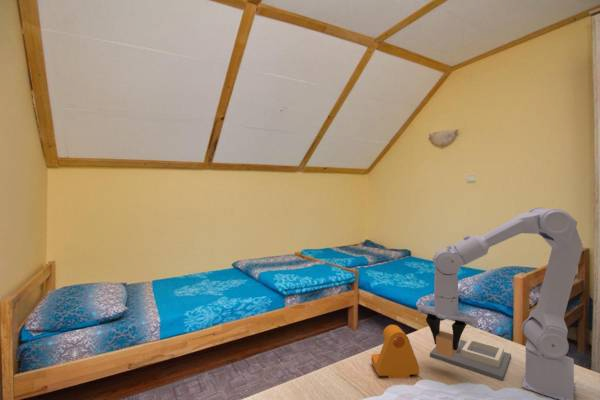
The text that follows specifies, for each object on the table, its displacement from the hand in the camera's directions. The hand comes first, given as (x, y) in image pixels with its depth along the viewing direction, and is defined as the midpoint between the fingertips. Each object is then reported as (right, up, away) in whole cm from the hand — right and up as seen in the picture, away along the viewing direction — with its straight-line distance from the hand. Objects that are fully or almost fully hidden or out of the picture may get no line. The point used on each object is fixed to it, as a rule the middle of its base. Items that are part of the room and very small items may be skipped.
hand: (446, 345), depth 82 cm
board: (+11, -7, +8) cm, 15 cm away
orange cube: (0, -2, 0) cm, 2 cm away
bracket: (-14, -8, +1) cm, 16 cm away
